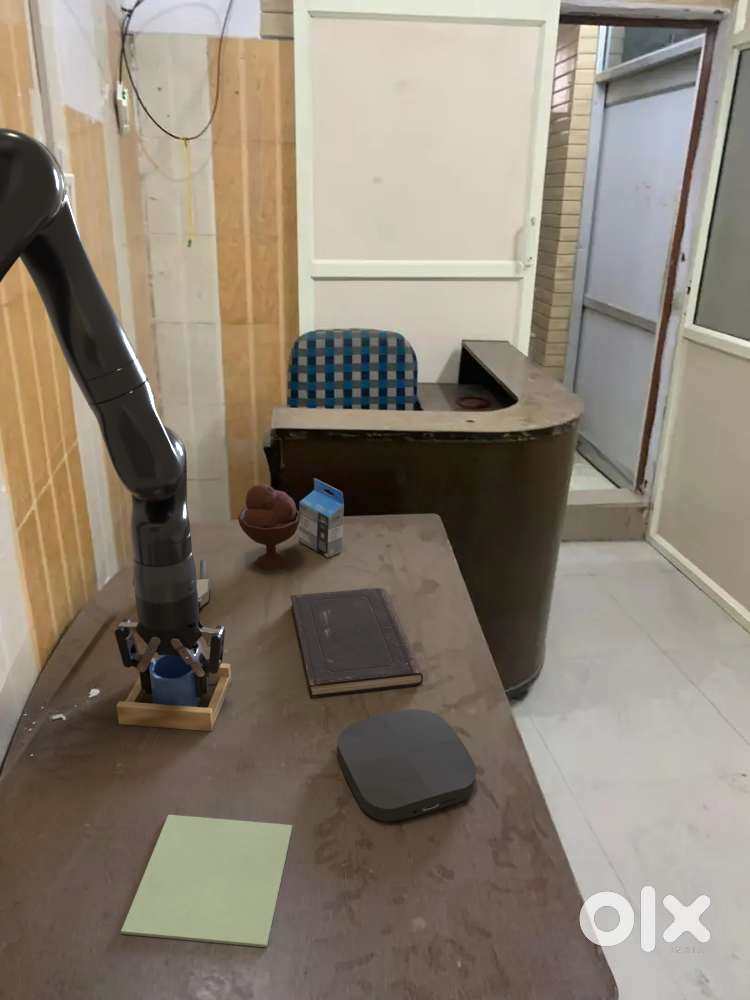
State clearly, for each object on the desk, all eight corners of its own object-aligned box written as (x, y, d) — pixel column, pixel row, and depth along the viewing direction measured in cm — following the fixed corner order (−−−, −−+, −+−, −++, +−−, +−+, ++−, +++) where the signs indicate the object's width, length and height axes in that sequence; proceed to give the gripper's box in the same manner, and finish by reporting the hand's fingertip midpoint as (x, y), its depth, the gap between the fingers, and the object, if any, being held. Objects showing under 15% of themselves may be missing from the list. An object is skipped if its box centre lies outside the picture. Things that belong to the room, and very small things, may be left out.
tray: (118, 724, 98) (116, 705, 97) (146, 674, 107) (144, 657, 106) (211, 731, 97) (210, 713, 96) (231, 681, 107) (230, 663, 105)
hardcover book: (309, 698, 104) (309, 685, 103) (290, 607, 124) (290, 595, 123) (422, 685, 107) (423, 672, 106) (385, 598, 128) (386, 586, 127)
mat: (121, 933, 72) (120, 931, 72) (168, 817, 85) (168, 814, 85) (266, 947, 71) (266, 944, 71) (292, 827, 84) (292, 824, 84)
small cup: (146, 715, 100) (142, 678, 97) (162, 685, 105) (158, 649, 103) (193, 719, 99) (190, 682, 97) (206, 688, 105) (203, 653, 103)
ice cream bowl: (256, 583, 131) (253, 504, 124) (231, 555, 139) (227, 480, 133) (311, 568, 136) (311, 492, 130) (284, 542, 144) (282, 469, 138)
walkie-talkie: (209, 631, 117) (209, 567, 135) (208, 607, 116) (208, 545, 133) (151, 636, 116) (158, 570, 133) (148, 611, 114) (156, 548, 132)
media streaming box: (328, 743, 96) (328, 725, 95) (432, 717, 101) (433, 699, 100) (370, 832, 84) (371, 812, 83) (486, 797, 89) (489, 778, 88)
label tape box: (297, 541, 145) (297, 482, 140) (314, 535, 148) (314, 477, 142) (327, 559, 139) (327, 498, 134) (344, 552, 142) (345, 492, 137)
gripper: (230, 573, 98) (235, 678, 105) (120, 565, 99) (133, 670, 106) (214, 604, 91) (221, 715, 98) (97, 596, 92) (112, 706, 99)
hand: (176, 691), depth 102 cm, fingers closed on small cup, 6 cm apart
